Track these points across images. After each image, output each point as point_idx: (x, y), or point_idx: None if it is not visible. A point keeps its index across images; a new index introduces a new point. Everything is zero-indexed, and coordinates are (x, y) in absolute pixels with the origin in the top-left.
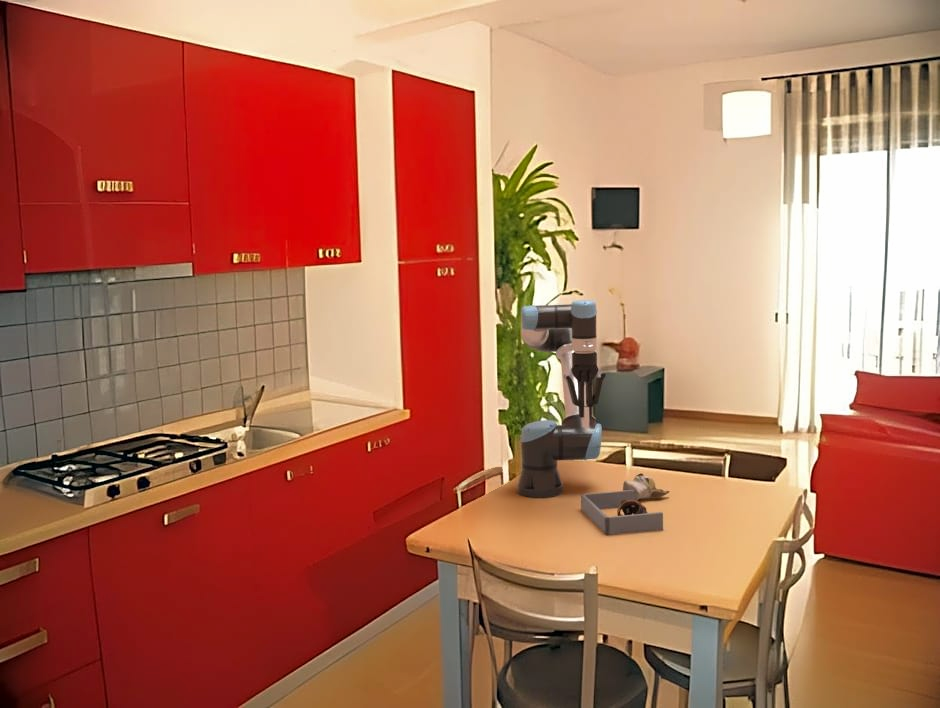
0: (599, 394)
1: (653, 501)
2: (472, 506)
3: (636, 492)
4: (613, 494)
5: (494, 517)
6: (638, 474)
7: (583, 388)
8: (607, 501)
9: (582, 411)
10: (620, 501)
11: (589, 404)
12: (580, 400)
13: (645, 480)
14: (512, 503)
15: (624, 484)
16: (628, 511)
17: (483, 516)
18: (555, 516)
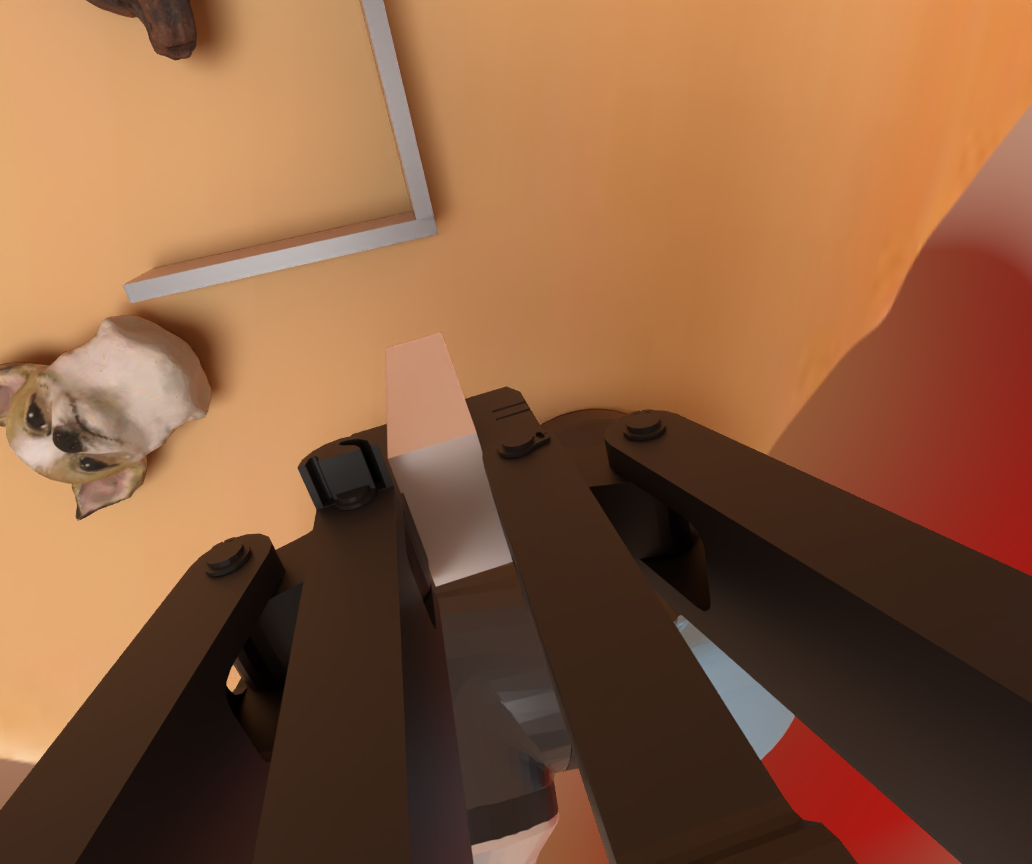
0: (68, 728)
1: (51, 344)
2: (865, 309)
3: (120, 323)
4: (251, 254)
5: (819, 146)
6: (85, 444)
7: (608, 755)
8: (292, 242)
9: (497, 428)
10: (220, 256)
11: (378, 494)
12: (588, 491)
13: (48, 403)
14: (712, 341)
15: (182, 360)
16: None
17: (858, 166)
18: (559, 131)
